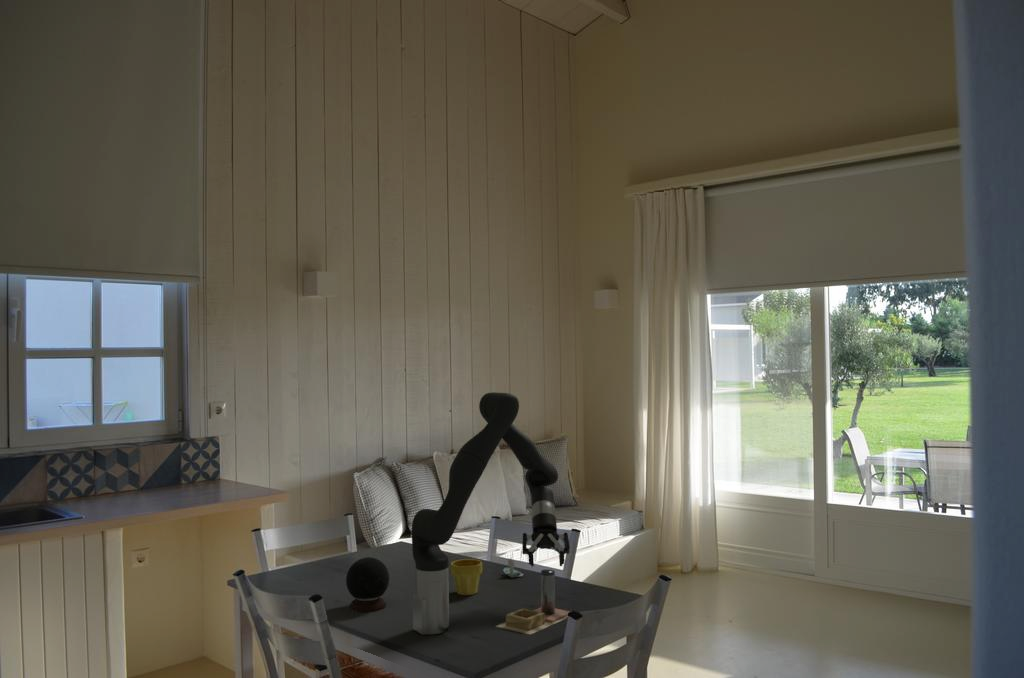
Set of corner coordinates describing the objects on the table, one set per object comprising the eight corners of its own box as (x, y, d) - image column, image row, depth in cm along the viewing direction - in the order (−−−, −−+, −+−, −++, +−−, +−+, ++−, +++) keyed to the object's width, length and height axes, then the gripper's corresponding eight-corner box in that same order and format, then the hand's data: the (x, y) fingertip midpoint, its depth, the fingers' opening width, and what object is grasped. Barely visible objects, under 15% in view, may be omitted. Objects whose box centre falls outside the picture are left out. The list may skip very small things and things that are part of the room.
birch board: (530, 639, 217) (529, 623, 217) (495, 630, 224) (495, 615, 224) (576, 617, 235) (576, 603, 235) (543, 610, 242) (543, 596, 242)
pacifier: (515, 573, 289) (501, 574, 286) (515, 555, 289) (501, 557, 286) (526, 577, 283) (512, 579, 280) (527, 559, 283) (512, 561, 280)
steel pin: (546, 615, 231) (546, 573, 232) (538, 612, 235) (538, 570, 235) (557, 613, 233) (557, 571, 234) (549, 610, 237) (549, 568, 237)
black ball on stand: (347, 615, 240) (347, 564, 241) (344, 602, 253) (344, 554, 253) (391, 611, 244) (391, 561, 244) (386, 599, 256) (386, 551, 257)
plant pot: (444, 594, 261) (444, 564, 261) (461, 587, 270) (461, 557, 270) (472, 598, 256) (472, 567, 256) (488, 590, 265) (488, 560, 266)
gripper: (521, 512, 248) (523, 558, 236) (567, 511, 248) (571, 557, 236) (520, 526, 253) (522, 572, 241) (566, 525, 253) (570, 571, 241)
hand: (546, 564), depth 239 cm, fingers open, 8 cm apart
